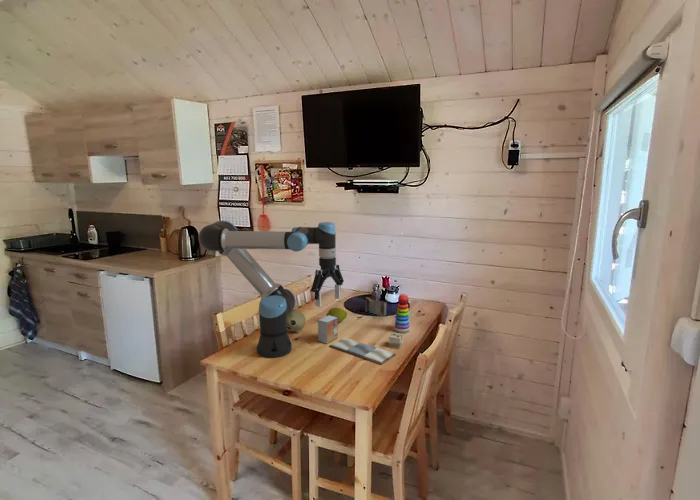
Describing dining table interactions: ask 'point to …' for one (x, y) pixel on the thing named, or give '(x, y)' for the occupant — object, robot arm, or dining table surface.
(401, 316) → the stacking toy
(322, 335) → the small box
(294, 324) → the toy pig
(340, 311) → the green fruit
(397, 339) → the die
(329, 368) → the dining table surface
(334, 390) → the dining table surface
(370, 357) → the game board
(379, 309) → the grey slab
